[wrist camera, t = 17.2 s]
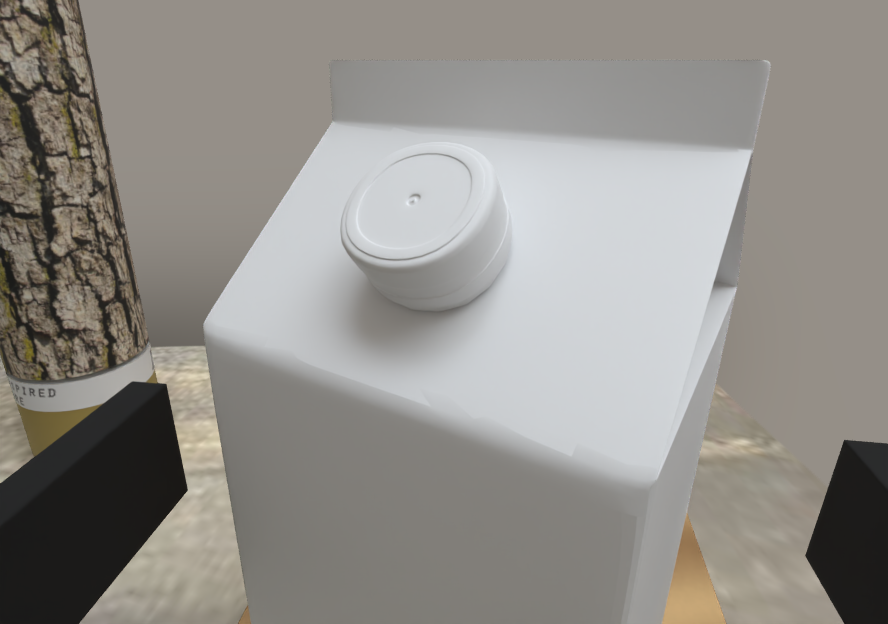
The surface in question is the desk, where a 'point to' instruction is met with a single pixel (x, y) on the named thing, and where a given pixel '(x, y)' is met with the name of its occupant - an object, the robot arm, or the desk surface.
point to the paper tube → (61, 230)
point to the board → (676, 587)
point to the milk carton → (485, 341)
